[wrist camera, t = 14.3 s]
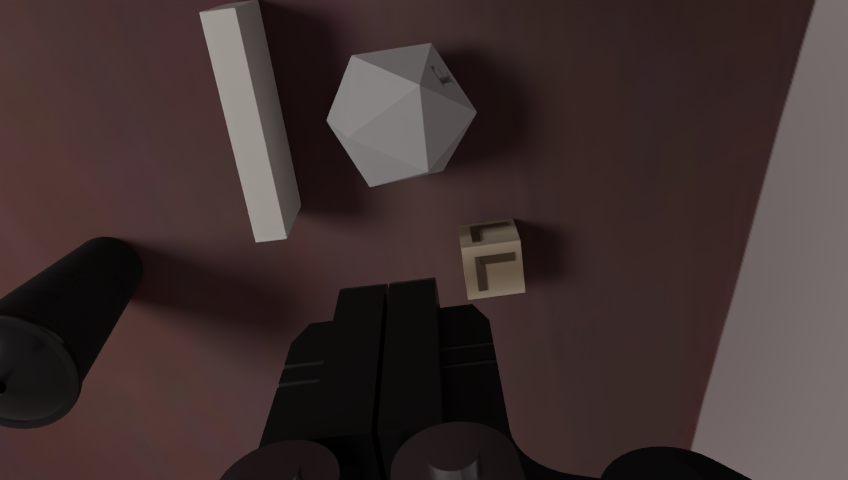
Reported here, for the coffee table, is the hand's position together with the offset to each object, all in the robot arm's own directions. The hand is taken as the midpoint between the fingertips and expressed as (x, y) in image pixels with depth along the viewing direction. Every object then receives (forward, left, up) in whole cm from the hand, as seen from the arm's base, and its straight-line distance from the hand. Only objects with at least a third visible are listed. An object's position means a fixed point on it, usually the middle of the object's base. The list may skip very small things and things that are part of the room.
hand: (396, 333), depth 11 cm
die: (+4, -1, -36) cm, 36 cm away
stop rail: (+3, -10, -36) cm, 38 cm away
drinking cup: (+13, -24, -36) cm, 46 cm away
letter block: (+15, +4, -36) cm, 39 cm away
